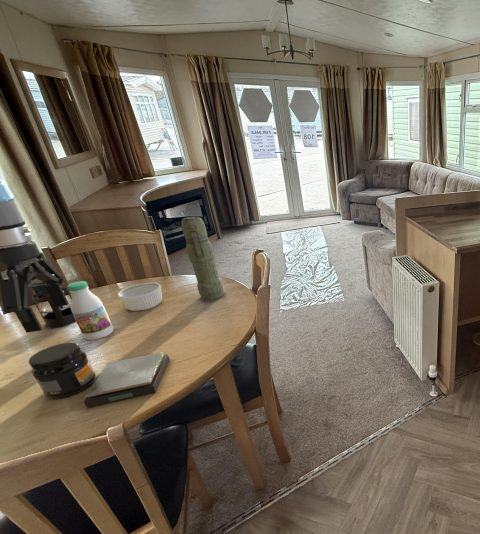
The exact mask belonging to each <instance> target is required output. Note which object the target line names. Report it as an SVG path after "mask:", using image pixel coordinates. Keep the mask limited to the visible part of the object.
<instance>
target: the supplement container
mask: <svg viewBox="0 0 480 534" xmlns="http://www.w3.org/2000/svg"><path fill="white" fill-rule="evenodd" d="M28 364H29V367H31V371H30V372H31V375H32V377H34V379H35V381H36V382H37V384H38V385H39V387H40V389H41V390H42V393H43V395H44V396H45V397H47V398H49V399H62V398H67V397H70V396H73V395H76V394H77V393H80V392H82V391H84V390H86V388H88V387H89V386H90V385H91V386H92V385H93V383H94V382H95V380H96V379H97V374H96V372H95V371H94V369H93V367H92V365H91V362H90V360H89V359H88V355H87V353H86V352H85V351H82V349H81V346H80V345H79V344H78V343H76V342H63V343H58V344H54V345H51V346H48V347H46V348H43V349H41V350H39V351H37V352H35V353H34V354H32V356H30V357H29V359H28Z"/></svg>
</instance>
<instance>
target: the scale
mask: <svg viewBox="0 0 480 534" xmlns="http://www.w3.org/2000/svg"><path fill="white" fill-rule="evenodd" d="M170 362H171V359H170V356H169V354H166V353H165V355H164V357H163V359H162V361H161V364H160V366H159V368H158V370H157V372H156V374H155V376H154V378H153V380H152V382H151V384H148V385H143V386H138V387H134V388H129V389H124V390H120V391H115V392H110V393H106V394H101V395H96V396H92V397H87V398H86V397H85V398H84V400H83V403H84V404H85V407H86V408H87V409H88V408H94V407H98V406H103V405H107V404H112V403H115V402H116V403H117V402H119V401H120V402H121V401H125V400H129V399H130V400H131V399H134V398H139V397H143V396H148V395H151V394H156V393H157V391H158V389H159V387H160V385H161V383H162V380H163V377H164V376H165V373H166V371H167V369H168V366H169V365H170Z"/></svg>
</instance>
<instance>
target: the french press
mask: <svg viewBox="0 0 480 534" xmlns="http://www.w3.org/2000/svg"><path fill="white" fill-rule="evenodd" d="M63 283H64V282H63ZM63 283H59V284H60V286H61V285H63ZM48 285H49V284H48ZM45 286H47V284H45V283H44V282H42V281H40V280H39V279H37V278H34V279H31V283H29V285H28V289H30V290H31V291H32V292H36V293H33V294H32V296H31V299H32V301H33V303H34V305H35V306H36V309H37V310H38V312H39V314H40V317H42V321H44V322H43V323H44V324H45V325H44V326H45V327H46V328H48V329H56V328H62V327H66V326H69V325H72V324H74V323H77V322H76V320H75V318H74V316H73V313H72V311H71V300H72V294H71V293H70V292H69V290H68V288H67V287H66V286H65V287H64V286H61V288H62V290H63V292H64V294H65V296H66V297H67V295H68V296H69V298H70V300H67V301H68V303H69V304H68V305H65V306H58V307H55V306H54V304H53V302H52V300H51V298H50V296H49V297H41V298H38V297H40V296H42V295H46V294H48V292H47V290H46V288H45ZM45 302H48V304H47V305H44V306H43V307H41V308H40V306H39V304H38V303H45Z"/></svg>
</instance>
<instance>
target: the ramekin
mask: <svg viewBox="0 0 480 534" xmlns="http://www.w3.org/2000/svg"><path fill="white" fill-rule="evenodd" d="M162 293H163V292H162V286H161V284H160V283H158V282H143V283H138V284H133V285H131V286H127V287H126V288H123V289H122V290H120V291H119V292H118V293H117V296H118V298H119V300H121V302H122V304H123V306H124V307H125V309H127V310H129V311H132V312H139V311H141V312H142V311H145V310H149V309H152V308H155V307H157V306H158V305H159V304H160V303H161V302H162V301H163V294H162Z"/></svg>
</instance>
